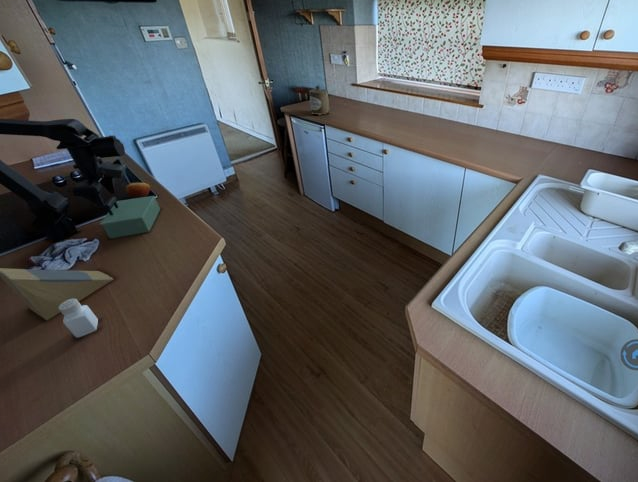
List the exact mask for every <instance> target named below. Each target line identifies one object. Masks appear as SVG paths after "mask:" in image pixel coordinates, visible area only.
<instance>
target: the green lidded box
mask: <svg viewBox="0 0 638 482" xmlns="http://www.w3.org/2000/svg"><path fill="white" fill-rule="evenodd" d="M160 211H161V208H160V206H159V203H158V201H157V199H156V197H154V199H153V201H152V203H151V204H150V206H149V208H148V210H147V212H146V213H145V215H144V217H143V219H137V220H131V221H125V222H119V223H113V224H107V225H101V226H102V227H103V230H104V231H105V233H106V234H107V236H108V238H109V239H116V238H122V237H128V236H133V235H138V234H145V233H149V232H150V231H151V229H152V227H153V225H154V223H155V221H156V219H157V217H158V215H159V213H160Z"/></svg>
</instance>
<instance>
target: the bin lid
mask: <svg viewBox="0 0 638 482" xmlns="http://www.w3.org/2000/svg"><path fill="white" fill-rule="evenodd" d="M154 197H155V195H150V196H149V195H148V196H146V197H142V198H135V199H132V198H130V199H121V200H117V197H116V196H110V197H109V199H108V200H107V201H106V202H105V203H104V205H105V206H104V207H103V209H104V210H106V211H107V214H106V215H105V216H104V218H103V219H102V220H101V222H100V223H99V226H102V225H107V224H113V223H119V222H125V221H131V220H137V219H143V217H144V215H145V213H146V212H147V210H148V208H149V206H150V204H151V203H152V201H153V199H154ZM155 198H156V197H155Z"/></svg>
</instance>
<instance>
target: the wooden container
mask: <svg viewBox="0 0 638 482" xmlns="http://www.w3.org/2000/svg"><path fill="white" fill-rule="evenodd" d="M328 91H329V90H328V89H326V88H321V86H320V85H316V86H315V89H314V88H313V89H310V90H308V93H309V102H310V103H309V104H310V111H312V112H313V113H325V112H328V111H329V110H330V99H329V92H328ZM312 112H311V113H312Z"/></svg>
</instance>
